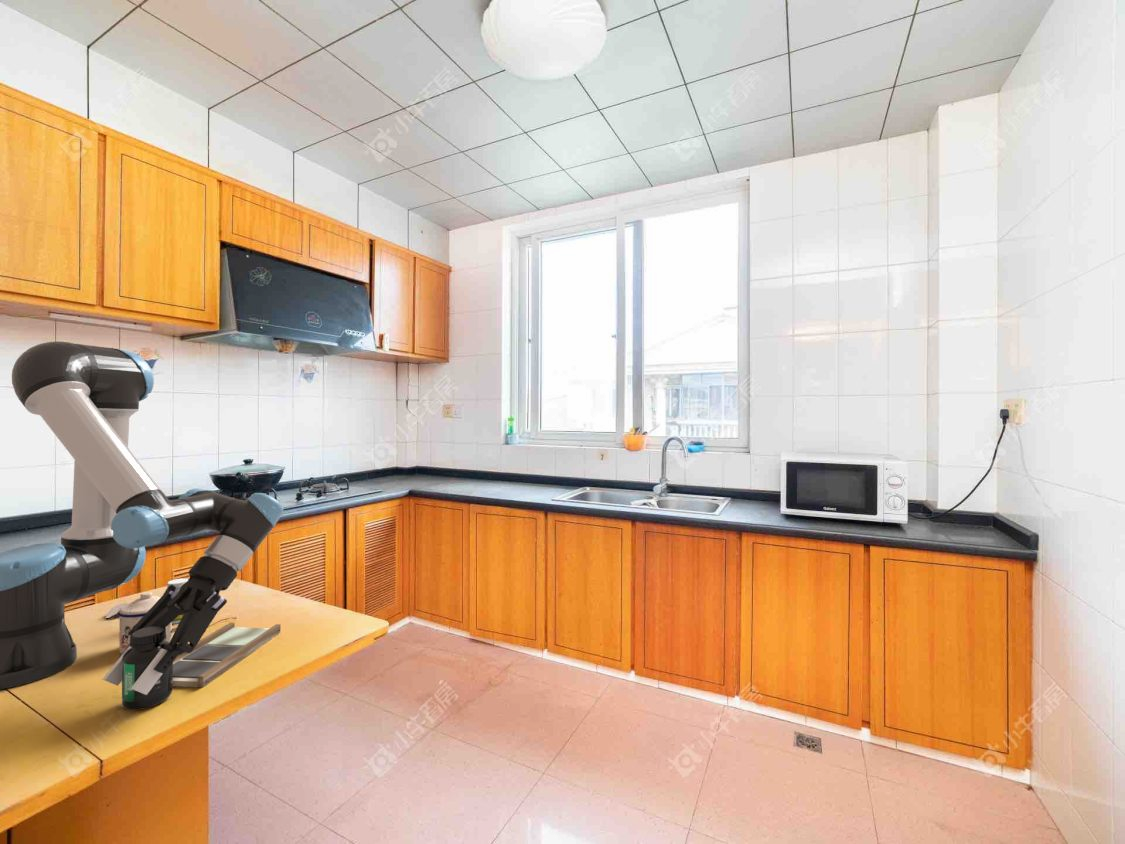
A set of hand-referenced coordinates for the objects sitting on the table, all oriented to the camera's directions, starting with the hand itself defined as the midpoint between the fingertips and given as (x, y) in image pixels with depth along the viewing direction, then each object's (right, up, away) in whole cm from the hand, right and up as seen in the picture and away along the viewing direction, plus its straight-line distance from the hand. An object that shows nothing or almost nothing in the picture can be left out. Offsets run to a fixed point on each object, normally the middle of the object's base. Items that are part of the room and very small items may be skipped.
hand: (124, 686), depth 83 cm
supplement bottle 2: (-20, -4, +37) cm, 43 cm away
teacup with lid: (-15, -4, +24) cm, 29 cm away
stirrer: (-31, -4, +45) cm, 55 cm away
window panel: (+2, -4, +20) cm, 20 cm away
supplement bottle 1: (+1, -4, +3) cm, 6 cm away
